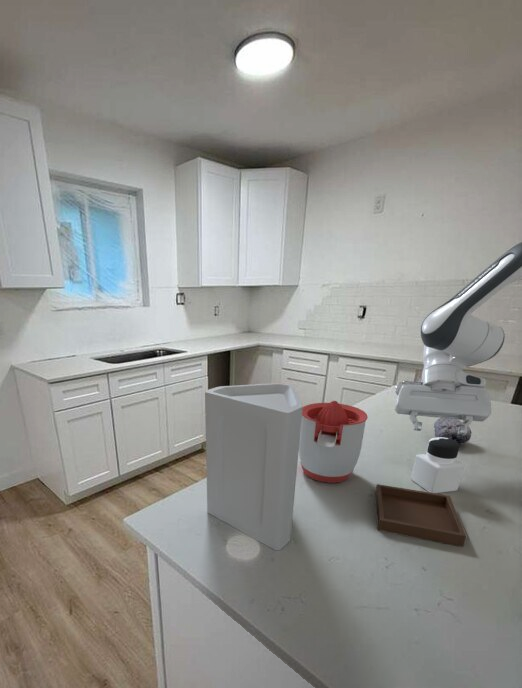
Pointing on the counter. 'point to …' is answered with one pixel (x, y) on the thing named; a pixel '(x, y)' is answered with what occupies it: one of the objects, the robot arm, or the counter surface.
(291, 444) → the triangular white caddy
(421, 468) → the medicine bottle
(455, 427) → the pumice stone
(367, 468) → the counter surface
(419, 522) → the tray
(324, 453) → the citrus juicer
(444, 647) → the counter surface
